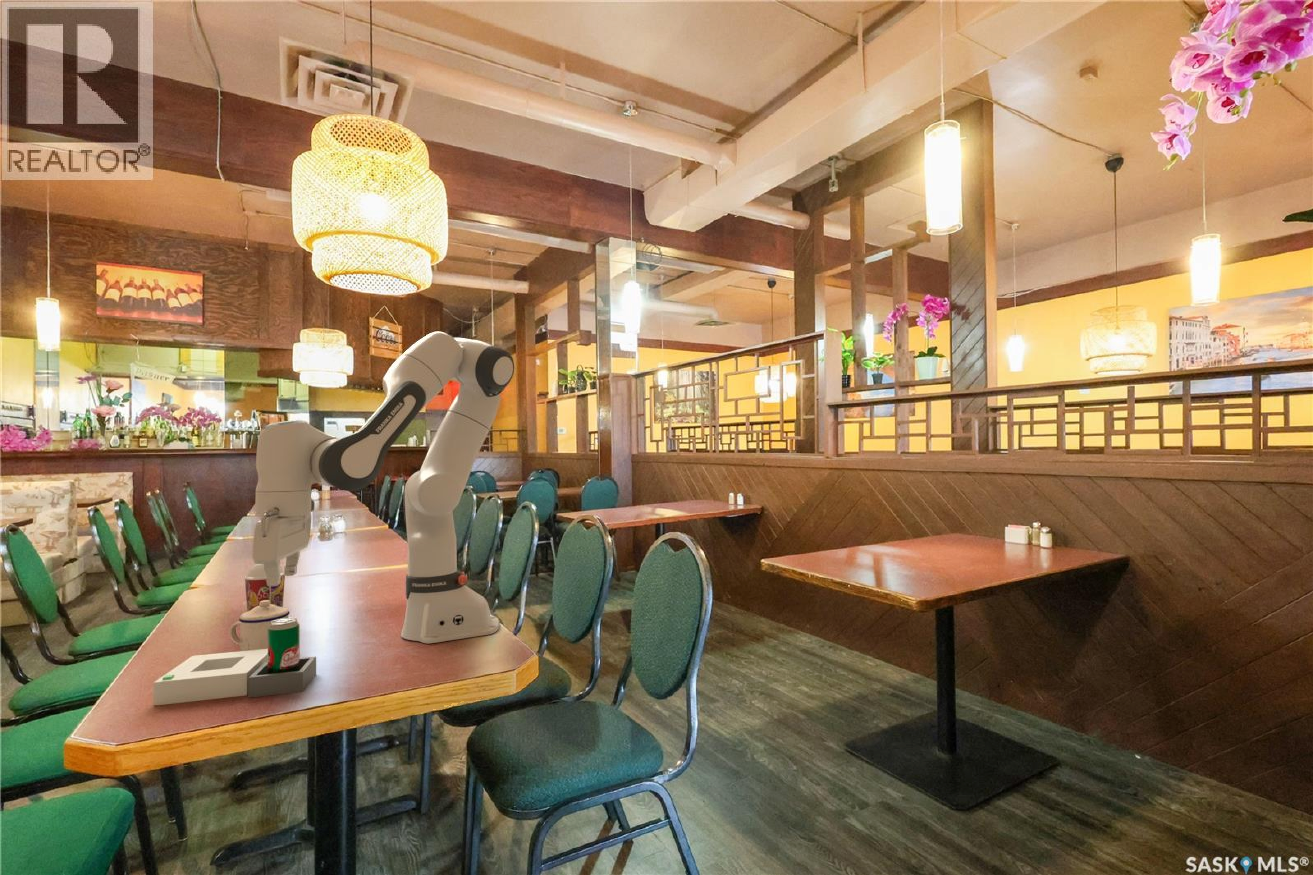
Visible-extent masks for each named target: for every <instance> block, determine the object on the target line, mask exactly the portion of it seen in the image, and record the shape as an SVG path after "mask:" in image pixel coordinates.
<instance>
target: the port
mask: <svg viewBox="0 0 1313 875" xmlns="http://www.w3.org/2000/svg"><path fill="white" fill-rule="evenodd" d="M266 661H268V649H260V650H249V651H241V650H238V651H230V652H221V653H220V652H218V653H210V654H209V653H207V654H197V655H191V656H190V657H189V658H187V659H186V660H184V661H183V662H181V663H180V664H179V665H177V666H176V667H174V668H172V669H171V670H169V671H168V672H167V673H165V674H164V675H163V676H161V677H159V678H158V679H157V680H155V681H154V682H153V706H154V707H155V705H156V706H163V705H171V704H172V705H173V704H182V703H190V702H198V701H199V702H200V701H207V700H216V699H217V700H218V699H224V698H225V699H226V698H234V697H244V696H249V684H248V678H249V677H250V676H251V675H252V674H253V673H254V672H255V671H256V670H257V669H258V668H259V667H261V666H262V665H263V664H264V663H265V662H266Z"/></svg>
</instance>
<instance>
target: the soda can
mask: <svg viewBox="0 0 1313 875" xmlns="http://www.w3.org/2000/svg"><path fill="white" fill-rule="evenodd" d="M300 631H301V630H300V623H299V621H298V619H297V618H296V617H288V618H283V619H278V620H274V621H272V622H270V626H269V628H268V674H275V673H285V672H294V671H300V658H301V656H300V654H301V653H300V651H301V648H300V646H301V645H300V643H301V642H300V641H301V640H300V638H301V637H300V634H301V633H300Z"/></svg>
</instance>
